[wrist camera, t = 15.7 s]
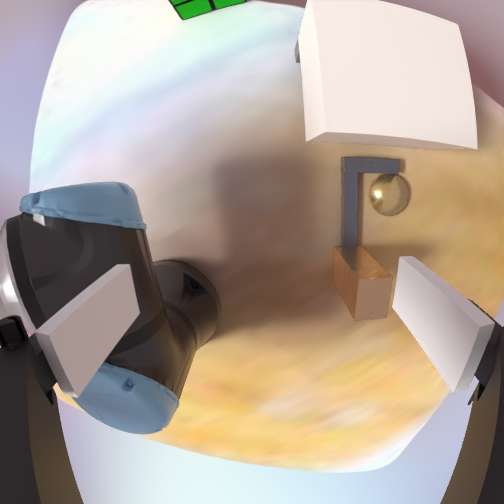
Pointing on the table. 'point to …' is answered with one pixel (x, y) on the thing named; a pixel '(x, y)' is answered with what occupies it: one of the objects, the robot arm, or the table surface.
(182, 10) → the puzzle cube
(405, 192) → the brass token
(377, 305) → the hook tool
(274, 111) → the table surface
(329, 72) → the cabinet
